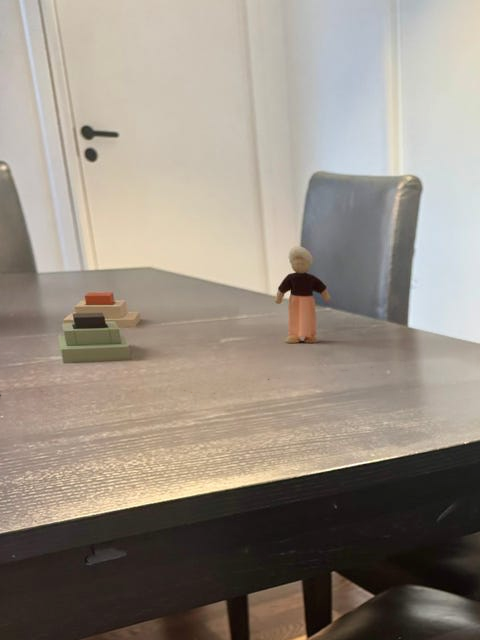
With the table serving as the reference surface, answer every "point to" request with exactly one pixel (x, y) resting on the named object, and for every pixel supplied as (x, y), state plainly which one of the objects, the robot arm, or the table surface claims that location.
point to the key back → (99, 299)
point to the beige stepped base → (108, 313)
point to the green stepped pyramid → (93, 344)
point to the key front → (89, 320)
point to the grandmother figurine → (301, 296)
